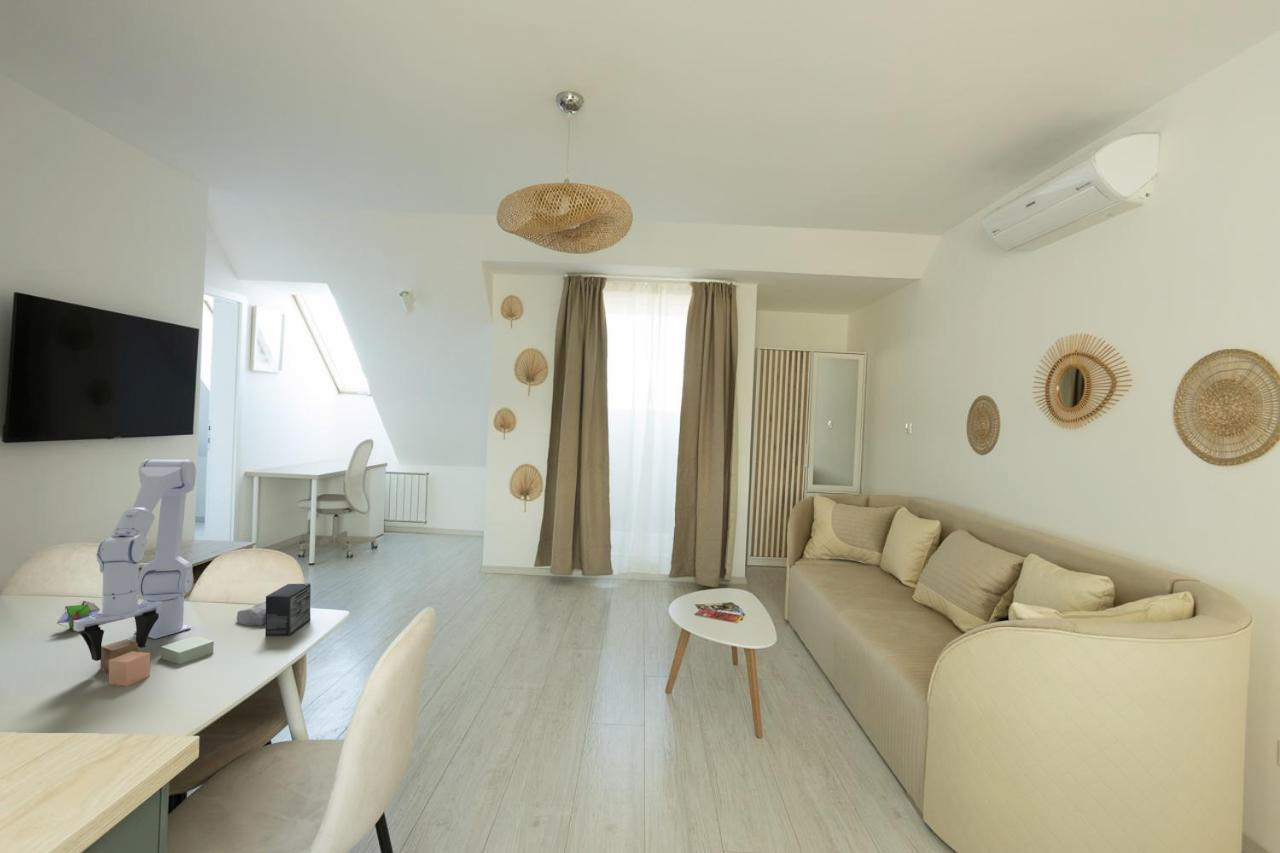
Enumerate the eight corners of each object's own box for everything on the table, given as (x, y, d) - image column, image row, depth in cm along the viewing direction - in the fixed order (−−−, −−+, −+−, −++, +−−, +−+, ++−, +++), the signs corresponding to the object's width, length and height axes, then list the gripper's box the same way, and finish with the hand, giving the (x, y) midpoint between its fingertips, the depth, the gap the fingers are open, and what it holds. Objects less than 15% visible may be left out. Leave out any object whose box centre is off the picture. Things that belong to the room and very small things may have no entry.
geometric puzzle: (86, 625, 137) (96, 594, 141) (49, 629, 134) (60, 597, 138) (97, 634, 142) (106, 604, 146) (61, 638, 139) (71, 606, 143)
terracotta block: (108, 684, 113) (109, 660, 113) (131, 674, 118) (132, 651, 118) (126, 686, 113) (127, 662, 113) (149, 676, 117) (150, 653, 117)
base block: (160, 659, 126) (160, 646, 126) (195, 648, 132) (195, 635, 132) (178, 666, 123) (179, 652, 123) (213, 653, 129) (213, 641, 129)
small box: (286, 620, 150) (287, 582, 150) (311, 621, 151) (312, 583, 150) (263, 636, 140) (264, 595, 139) (290, 636, 140) (291, 595, 140)
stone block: (232, 630, 147) (263, 626, 145) (230, 611, 148) (261, 608, 146) (270, 616, 159) (299, 613, 157) (268, 599, 159) (297, 596, 157)
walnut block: (100, 669, 120) (100, 646, 120) (126, 660, 124) (126, 638, 124) (111, 673, 118) (111, 650, 118) (137, 665, 122) (137, 642, 122)
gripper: (85, 603, 112) (84, 669, 112) (170, 585, 126) (168, 644, 126) (69, 598, 115) (67, 662, 115) (153, 580, 128) (151, 638, 129)
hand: (119, 652), depth 121 cm, fingers open, 7 cm apart
